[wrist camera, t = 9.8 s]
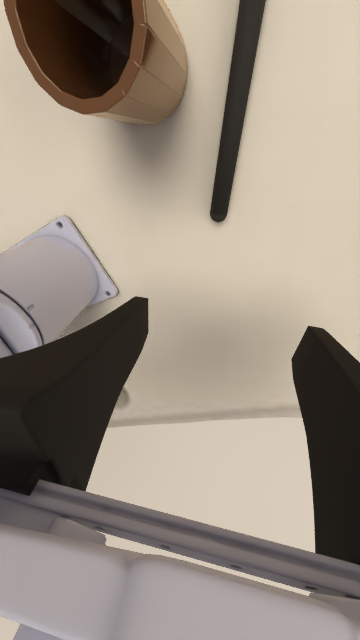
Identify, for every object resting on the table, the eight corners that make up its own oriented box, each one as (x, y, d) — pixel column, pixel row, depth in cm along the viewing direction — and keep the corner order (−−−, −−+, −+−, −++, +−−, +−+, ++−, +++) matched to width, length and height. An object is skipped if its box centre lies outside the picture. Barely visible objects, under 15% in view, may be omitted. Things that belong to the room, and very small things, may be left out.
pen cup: (135, 140, 16) (70, 140, 10) (90, 46, 14) (-29, -29, 8) (201, 94, 14) (172, 58, 8) (162, -23, 12) (79, -200, 6)
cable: (227, 220, 18) (227, 225, 17) (207, 218, 18) (206, 222, 17) (352, -452, 7) (370, -544, 6) (298, -442, 7) (307, -531, 6)
